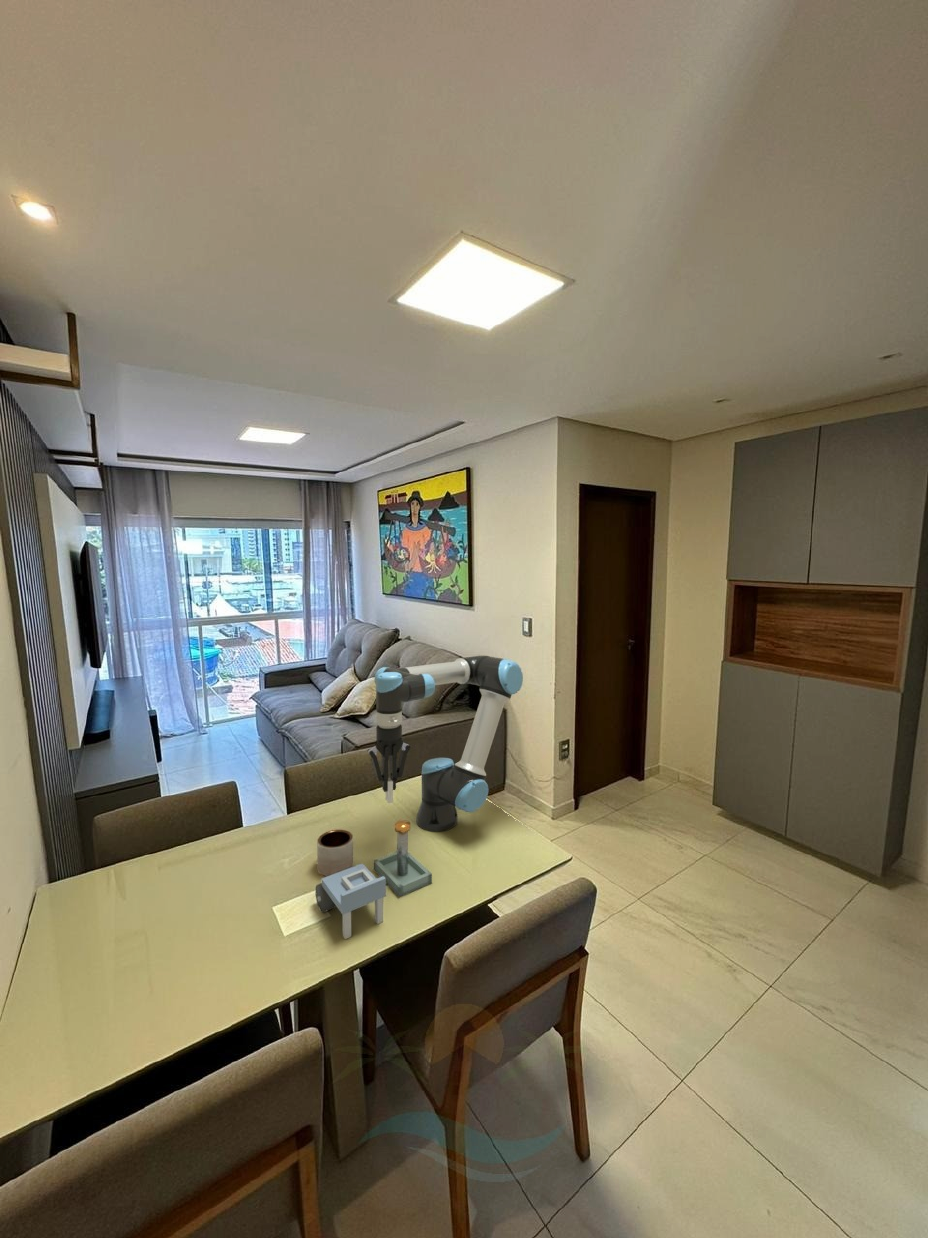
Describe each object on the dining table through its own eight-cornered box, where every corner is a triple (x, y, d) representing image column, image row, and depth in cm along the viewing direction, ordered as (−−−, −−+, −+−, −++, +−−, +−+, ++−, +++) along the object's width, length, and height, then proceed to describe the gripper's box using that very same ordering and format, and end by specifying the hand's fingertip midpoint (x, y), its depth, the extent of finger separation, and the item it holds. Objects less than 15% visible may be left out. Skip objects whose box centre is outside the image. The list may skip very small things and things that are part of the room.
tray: (373, 869, 152) (373, 860, 152) (404, 857, 159) (404, 848, 158) (399, 897, 139) (399, 887, 139) (431, 883, 146) (431, 873, 146)
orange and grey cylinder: (392, 872, 150) (392, 823, 148) (405, 866, 152) (405, 818, 151) (399, 879, 146) (399, 829, 144) (412, 874, 149) (413, 825, 147)
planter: (358, 858, 158) (357, 830, 157) (346, 879, 147) (346, 849, 146) (325, 856, 159) (324, 828, 158) (311, 877, 148) (311, 846, 147)
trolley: (313, 904, 136) (313, 863, 135) (360, 885, 145) (360, 846, 143) (339, 942, 122) (338, 897, 121) (389, 919, 131) (389, 877, 130)
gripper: (371, 731, 140) (371, 810, 142) (414, 725, 146) (413, 801, 148) (364, 723, 147) (364, 799, 149) (405, 718, 152) (405, 791, 155)
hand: (389, 800), depth 149 cm, fingers closed
